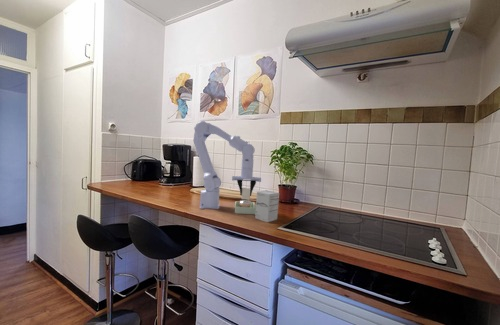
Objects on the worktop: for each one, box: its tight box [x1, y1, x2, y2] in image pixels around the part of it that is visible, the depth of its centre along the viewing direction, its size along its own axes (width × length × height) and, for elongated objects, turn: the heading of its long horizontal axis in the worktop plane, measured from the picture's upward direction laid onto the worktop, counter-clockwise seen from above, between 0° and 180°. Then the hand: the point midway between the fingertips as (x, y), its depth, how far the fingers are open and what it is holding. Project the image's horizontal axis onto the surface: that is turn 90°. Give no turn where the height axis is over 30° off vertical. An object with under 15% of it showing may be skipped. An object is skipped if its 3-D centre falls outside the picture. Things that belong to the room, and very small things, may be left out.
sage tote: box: [234, 200, 256, 215], centre depth 117 cm, size 10×12×4 cm
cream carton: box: [240, 187, 251, 200], centre depth 117 cm, size 4×4×5 cm
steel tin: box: [239, 199, 252, 207], centre depth 118 cm, size 6×6×4 cm
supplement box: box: [254, 189, 280, 223], centre depth 104 cm, size 7×7×13 cm
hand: (245, 195), depth 117 cm, fingers closed on cream carton, 4 cm apart
